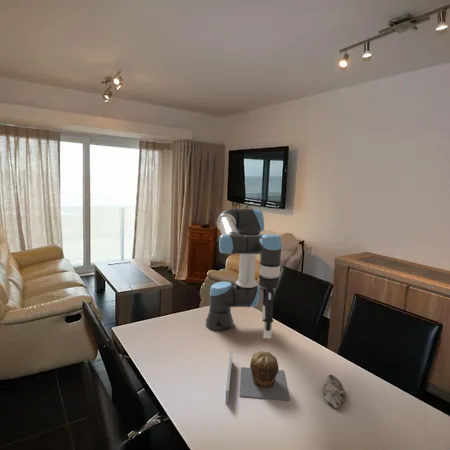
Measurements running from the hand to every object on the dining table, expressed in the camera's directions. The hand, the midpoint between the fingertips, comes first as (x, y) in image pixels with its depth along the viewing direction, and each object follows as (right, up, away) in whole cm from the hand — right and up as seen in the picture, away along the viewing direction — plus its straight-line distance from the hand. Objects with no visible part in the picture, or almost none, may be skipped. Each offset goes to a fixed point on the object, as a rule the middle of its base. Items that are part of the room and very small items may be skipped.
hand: (266, 329), depth 119 cm
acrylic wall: (-14, -22, +4) cm, 26 cm away
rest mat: (-1, -22, +3) cm, 23 cm away
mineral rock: (+25, -24, -3) cm, 35 cm away
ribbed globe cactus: (-1, -22, +3) cm, 22 cm away
